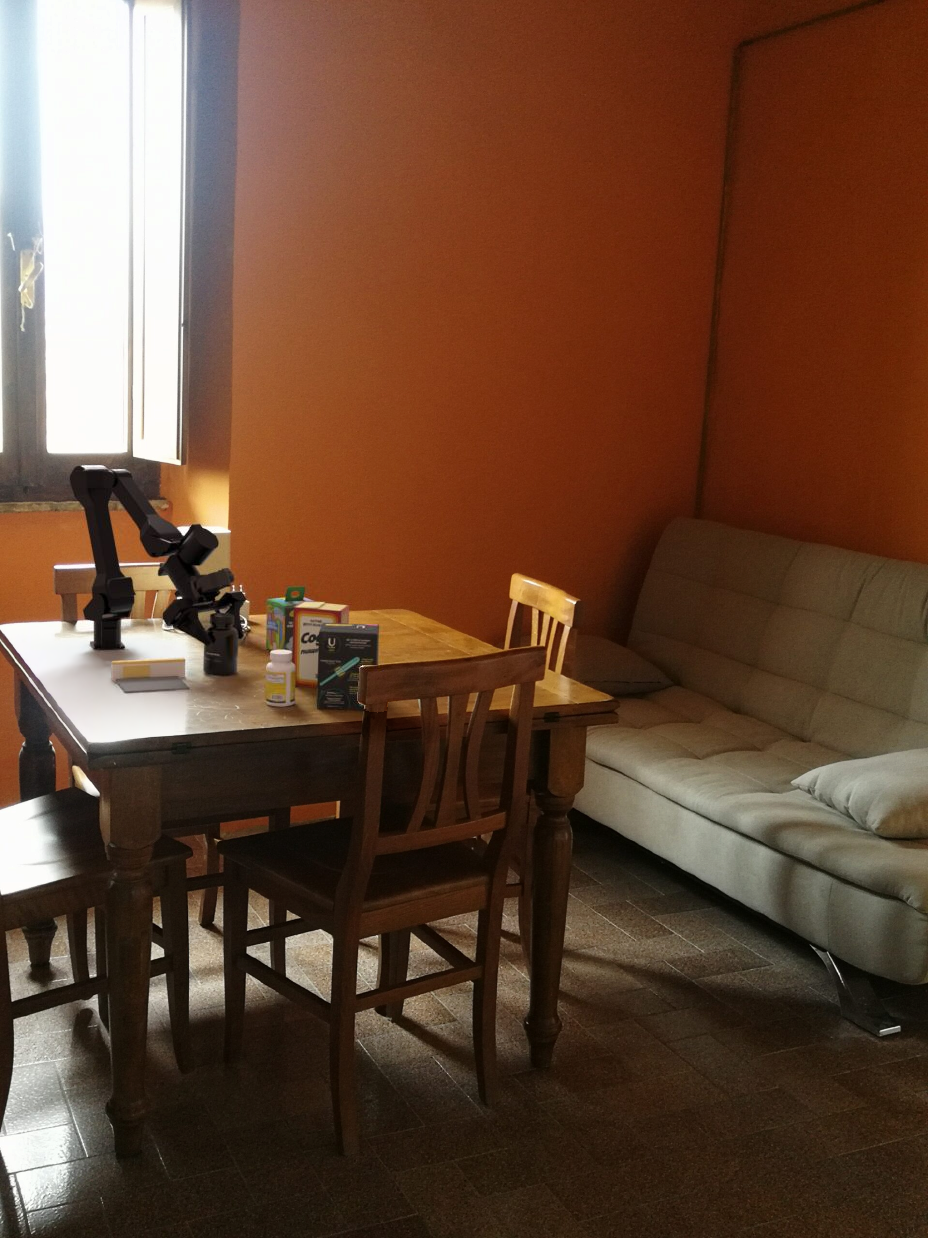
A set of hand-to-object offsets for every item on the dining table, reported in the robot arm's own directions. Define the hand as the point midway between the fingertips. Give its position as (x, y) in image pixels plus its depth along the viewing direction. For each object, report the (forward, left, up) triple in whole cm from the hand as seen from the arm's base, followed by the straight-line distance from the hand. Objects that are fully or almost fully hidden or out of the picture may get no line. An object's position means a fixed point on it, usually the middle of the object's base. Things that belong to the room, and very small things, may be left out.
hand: (225, 641), depth 237 cm
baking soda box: (+12, +16, -7) cm, 21 cm away
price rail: (0, -15, -7) cm, 17 cm away
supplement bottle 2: (+25, +4, -7) cm, 26 cm away
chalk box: (-18, +20, -7) cm, 28 cm away
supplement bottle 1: (-1, -1, -7) cm, 7 cm away
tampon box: (+28, +16, -7) cm, 33 cm away
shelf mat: (+6, -16, -7) cm, 18 cm away
